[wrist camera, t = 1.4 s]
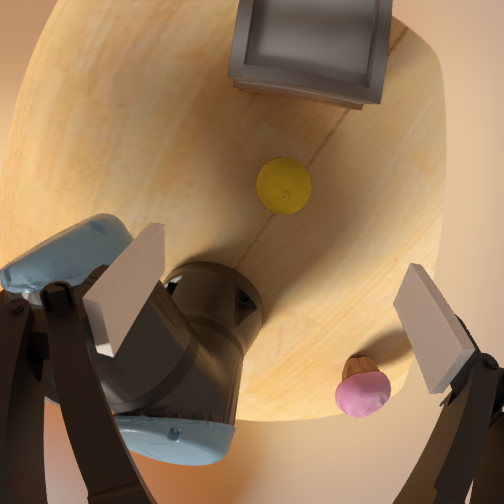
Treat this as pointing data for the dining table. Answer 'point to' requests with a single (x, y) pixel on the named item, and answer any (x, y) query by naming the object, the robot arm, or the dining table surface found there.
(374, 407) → the cupcake
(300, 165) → the lemon
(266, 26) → the grey storage bin
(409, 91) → the dining table surface
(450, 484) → the robot arm
